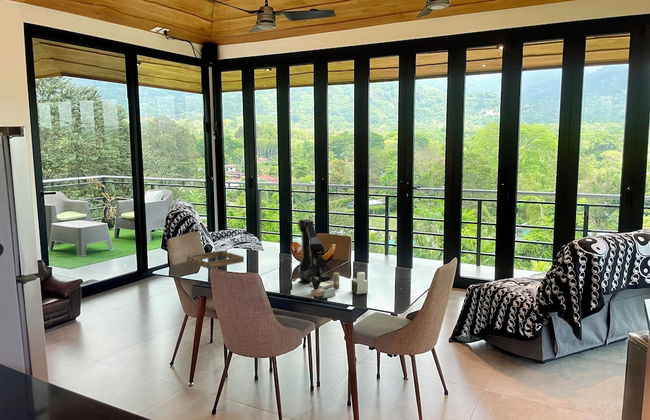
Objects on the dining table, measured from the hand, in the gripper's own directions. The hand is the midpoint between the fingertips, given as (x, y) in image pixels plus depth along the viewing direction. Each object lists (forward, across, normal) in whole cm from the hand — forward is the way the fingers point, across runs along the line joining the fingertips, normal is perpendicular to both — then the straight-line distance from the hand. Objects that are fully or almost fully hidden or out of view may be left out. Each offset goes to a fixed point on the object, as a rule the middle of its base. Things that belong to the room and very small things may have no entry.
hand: (315, 290), depth 287 cm
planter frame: (+1, -108, 0) cm, 108 cm away
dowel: (+1, +2, +15) cm, 15 cm away
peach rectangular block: (+1, +4, -1) cm, 4 cm away
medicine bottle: (+1, +17, +19) cm, 25 cm away
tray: (+1, -7, +13) cm, 15 cm away
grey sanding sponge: (+1, +11, 0) cm, 11 cm away
